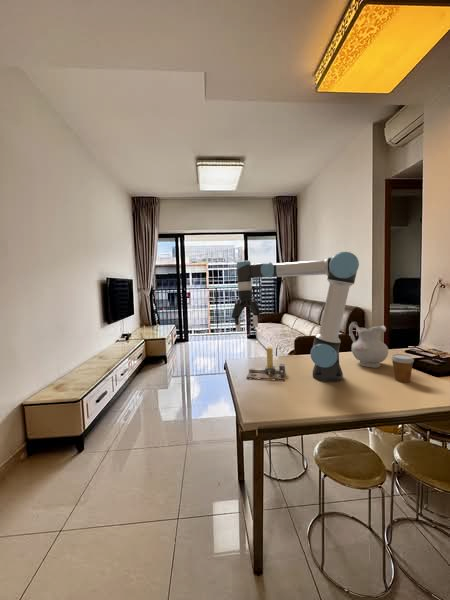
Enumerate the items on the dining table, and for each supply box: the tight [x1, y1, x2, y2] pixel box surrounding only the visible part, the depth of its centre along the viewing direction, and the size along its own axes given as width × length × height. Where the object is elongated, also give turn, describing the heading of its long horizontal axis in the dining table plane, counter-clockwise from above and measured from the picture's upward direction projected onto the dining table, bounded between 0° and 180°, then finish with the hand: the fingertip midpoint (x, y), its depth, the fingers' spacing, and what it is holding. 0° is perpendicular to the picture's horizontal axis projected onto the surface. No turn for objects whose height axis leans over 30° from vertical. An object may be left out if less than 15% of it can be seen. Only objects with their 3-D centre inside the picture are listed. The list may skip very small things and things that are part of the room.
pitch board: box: [246, 363, 286, 381], centre depth 147 cm, size 20×12×6 cm, turn 75°
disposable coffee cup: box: [390, 353, 415, 383], centre depth 132 cm, size 10×10×12 cm
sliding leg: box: [264, 346, 276, 376], centre depth 147 cm, size 5×9×14 cm, turn 165°
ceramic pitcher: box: [348, 321, 389, 369], centre depth 158 cm, size 22×20×25 cm
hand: (247, 328), depth 145 cm, fingers open, 13 cm apart
